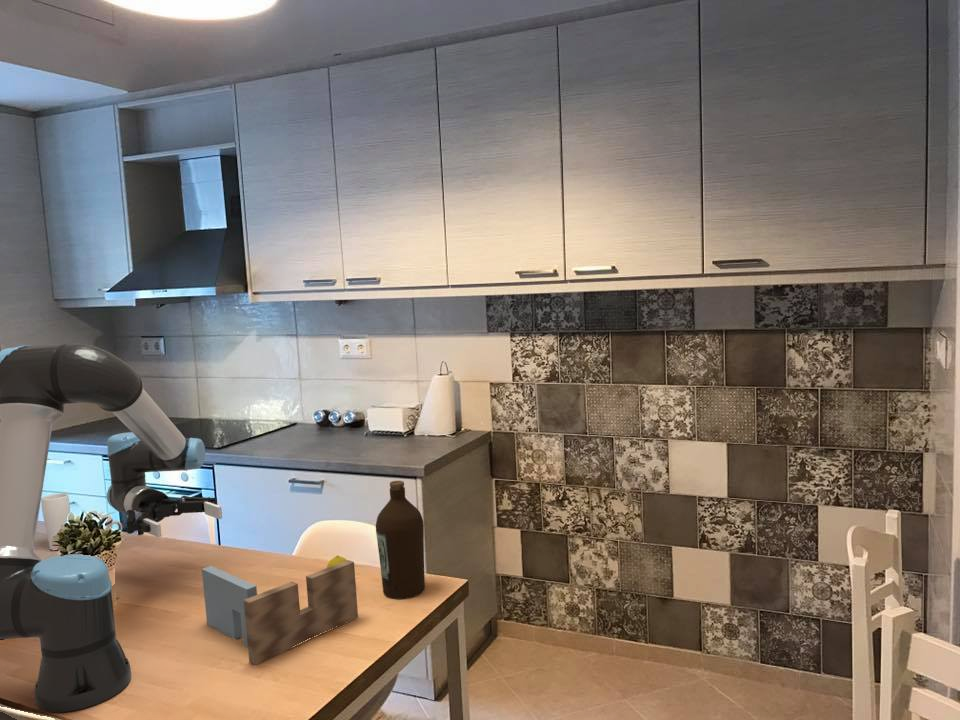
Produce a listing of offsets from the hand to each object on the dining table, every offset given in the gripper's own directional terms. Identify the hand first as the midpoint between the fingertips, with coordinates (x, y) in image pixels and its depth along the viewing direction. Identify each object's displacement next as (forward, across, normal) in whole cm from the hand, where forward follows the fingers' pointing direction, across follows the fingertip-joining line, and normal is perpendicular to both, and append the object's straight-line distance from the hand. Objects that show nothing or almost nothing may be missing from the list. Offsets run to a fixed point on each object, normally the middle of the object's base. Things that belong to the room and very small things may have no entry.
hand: (190, 521), depth 158 cm
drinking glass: (-76, +3, -22) cm, 79 cm away
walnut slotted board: (+29, -7, -20) cm, 36 cm away
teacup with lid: (-62, -3, -22) cm, 66 cm away
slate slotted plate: (+15, +1, -20) cm, 26 cm away
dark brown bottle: (+28, -34, -21) cm, 49 cm away
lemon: (+15, -26, -21) cm, 37 cm away
